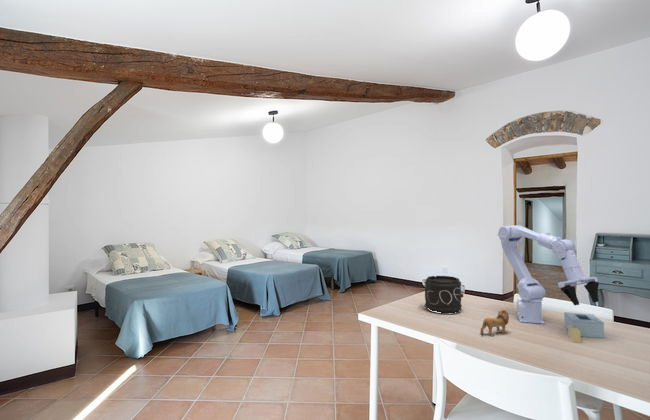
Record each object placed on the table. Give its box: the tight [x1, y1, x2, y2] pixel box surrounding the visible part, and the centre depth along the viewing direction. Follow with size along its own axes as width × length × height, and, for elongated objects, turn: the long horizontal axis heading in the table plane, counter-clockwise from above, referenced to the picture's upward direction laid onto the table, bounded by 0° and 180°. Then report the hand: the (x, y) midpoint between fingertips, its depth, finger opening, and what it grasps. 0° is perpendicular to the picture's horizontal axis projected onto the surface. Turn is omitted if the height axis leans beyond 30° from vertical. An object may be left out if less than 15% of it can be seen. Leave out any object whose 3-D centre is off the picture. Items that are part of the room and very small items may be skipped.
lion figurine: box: [479, 309, 510, 337], centre depth 138 cm, size 15×5×9 cm, turn 116°
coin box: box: [563, 311, 605, 339], centre depth 138 cm, size 10×11×6 cm
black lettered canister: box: [424, 275, 464, 313], centre depth 172 cm, size 18×18×16 cm
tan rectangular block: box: [567, 326, 582, 344], centre depth 130 cm, size 2×5×4 cm, turn 159°
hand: (586, 303), depth 131 cm, fingers open, 7 cm apart
